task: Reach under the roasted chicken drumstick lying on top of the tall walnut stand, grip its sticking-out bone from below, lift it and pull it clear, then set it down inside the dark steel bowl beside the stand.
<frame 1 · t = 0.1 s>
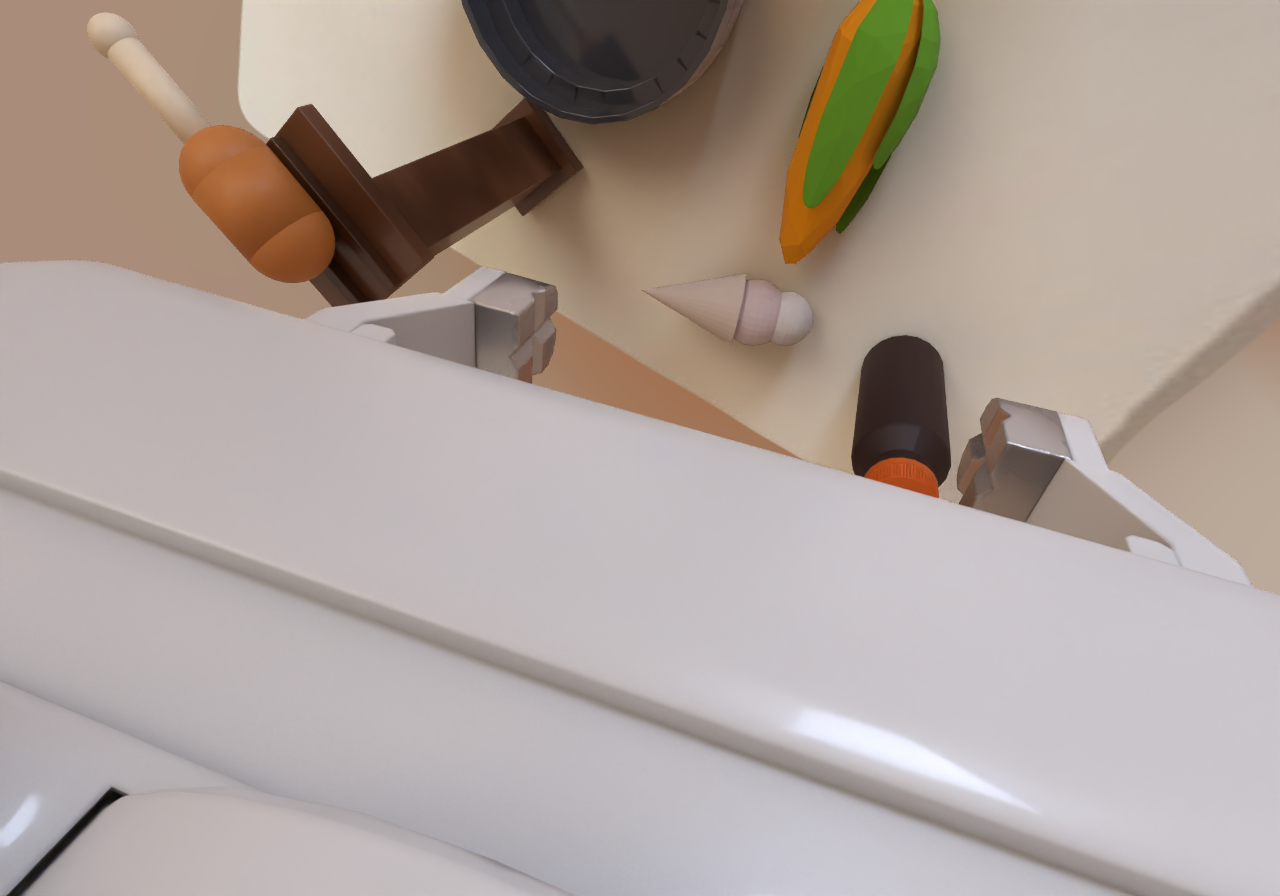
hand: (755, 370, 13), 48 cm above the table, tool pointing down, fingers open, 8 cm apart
stand: (531, 155, 62), on the table
ice cream cone: (734, 293, 63), on the table
corn: (850, 130, 54), on the table
bottle: (901, 367, 63), on the table
drumstick: (265, 164, 39), point 27 cm above the table, touching stand
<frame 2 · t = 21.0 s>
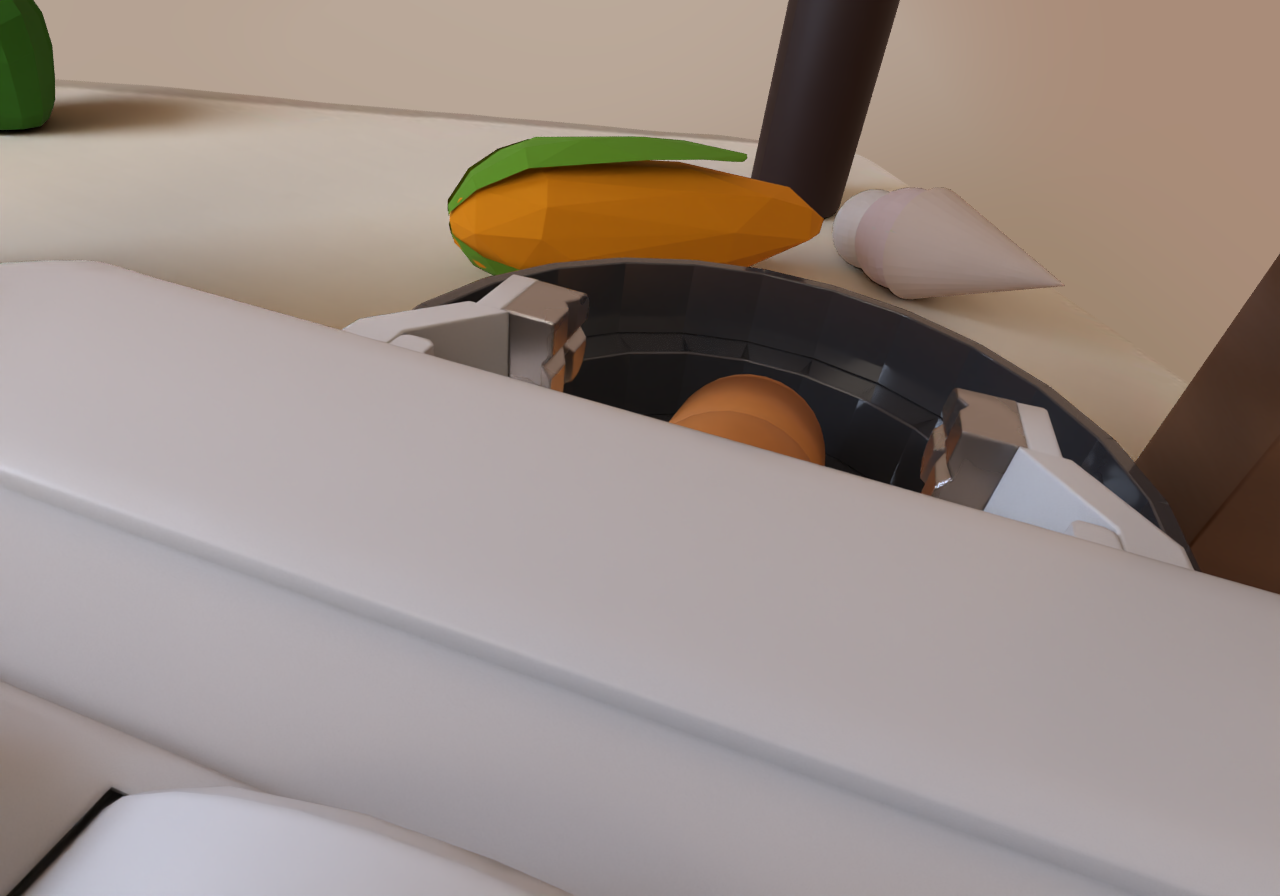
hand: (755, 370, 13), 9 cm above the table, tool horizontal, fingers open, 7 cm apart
stand: (1186, 593, 23), on the table
ice cream cone: (917, 305, 40), on the table
bowl: (707, 584, 21), on the table
corn: (640, 285, 38), on the table
bottle: (791, 206, 53), on the table
drumstick: (704, 581, 19), point 2 cm above the table, tilted 16°, touching bowl
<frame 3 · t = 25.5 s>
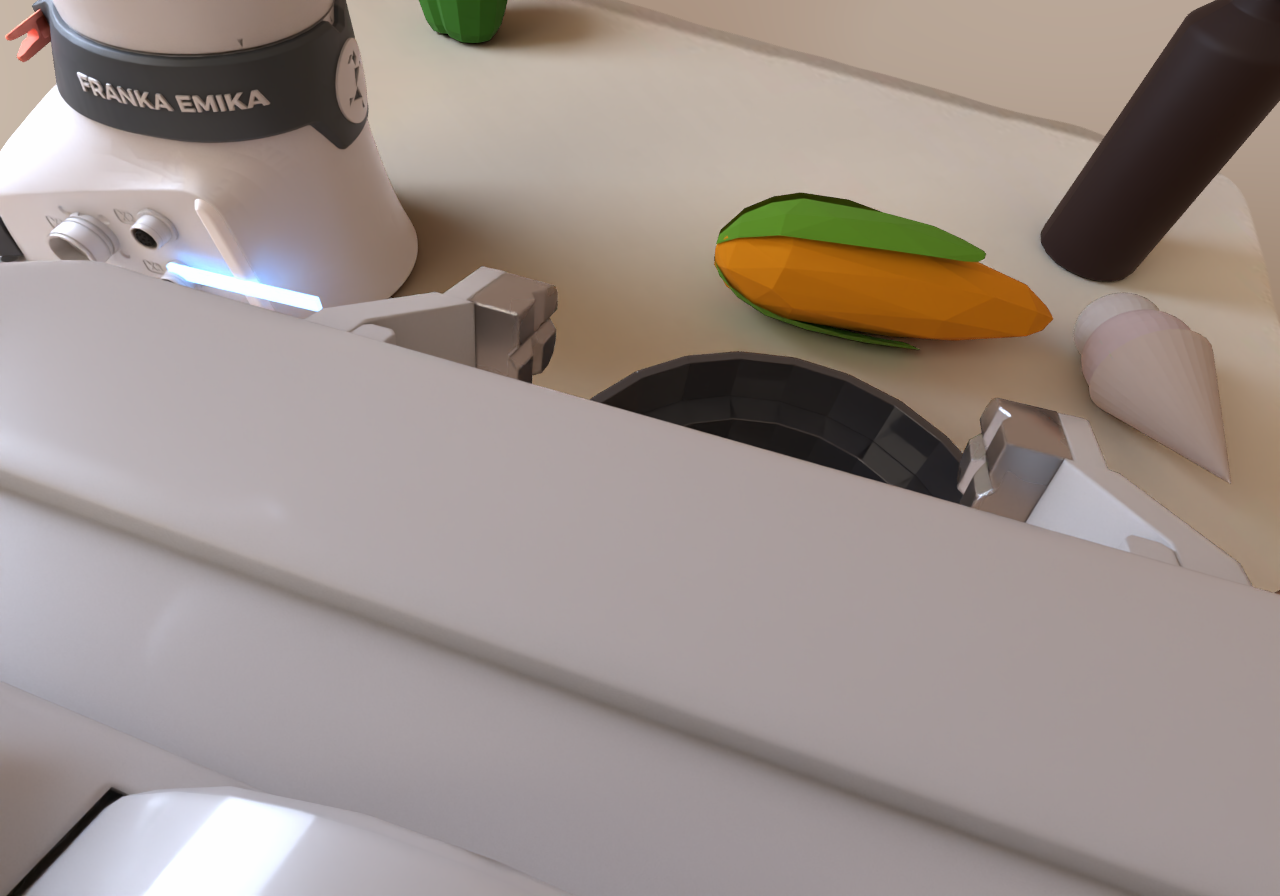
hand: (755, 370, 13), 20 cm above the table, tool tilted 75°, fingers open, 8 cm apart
bell pepper: (465, 32, 61), on the table
ice cream cone: (1119, 422, 42), on the table
bowl: (746, 602, 32), on the table
corn: (859, 322, 45), on the table
bottle: (1082, 255, 51), on the table
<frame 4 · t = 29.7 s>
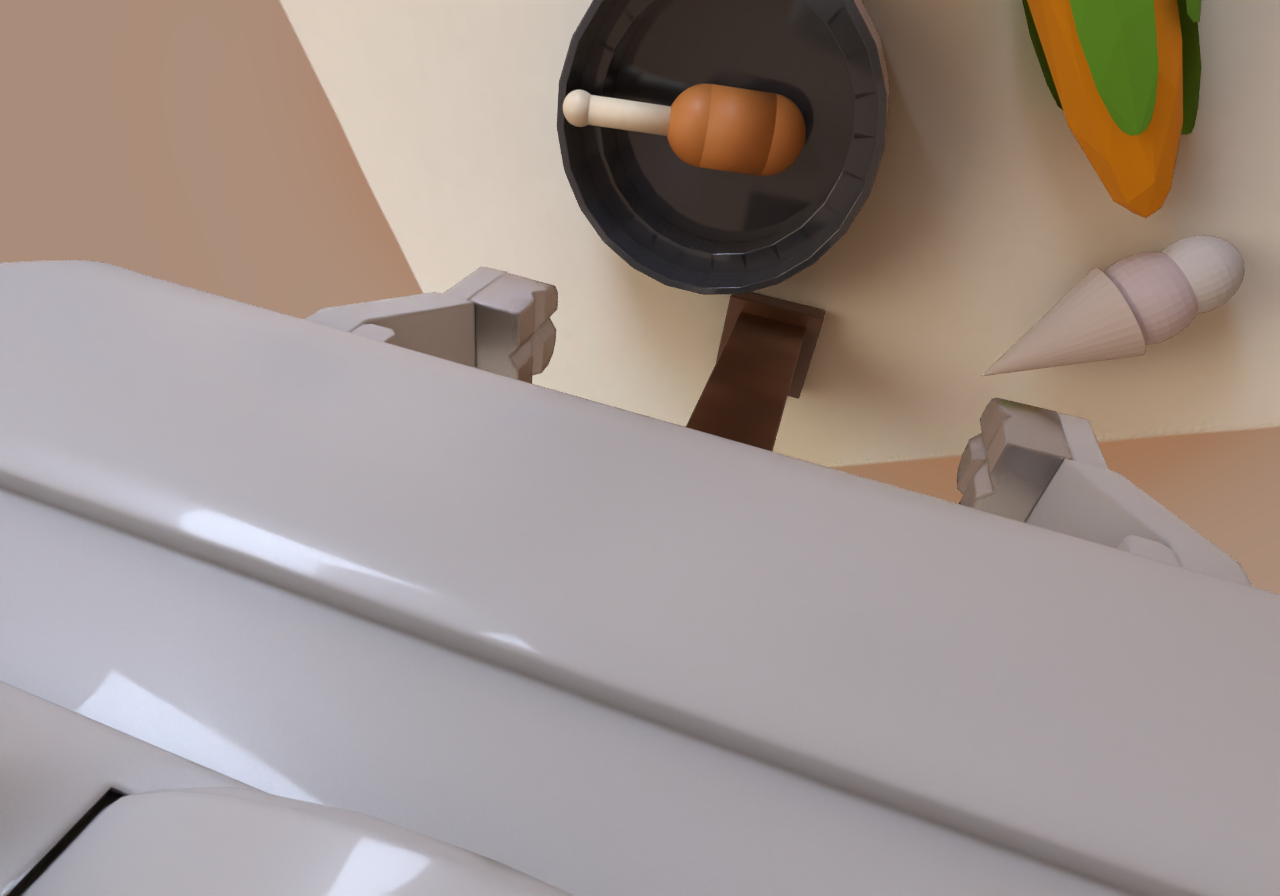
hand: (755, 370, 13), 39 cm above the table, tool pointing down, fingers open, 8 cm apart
stand: (768, 340, 55), on the table
ice cream cone: (1091, 300, 47), on the table
bowl: (730, 119, 47), on the table
corn: (1105, 27, 39), on the table
drumstick: (702, 118, 46), point 2 cm above the table, tilted 16°, touching bowl
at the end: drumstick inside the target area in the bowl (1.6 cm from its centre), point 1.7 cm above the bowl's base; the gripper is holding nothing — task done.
